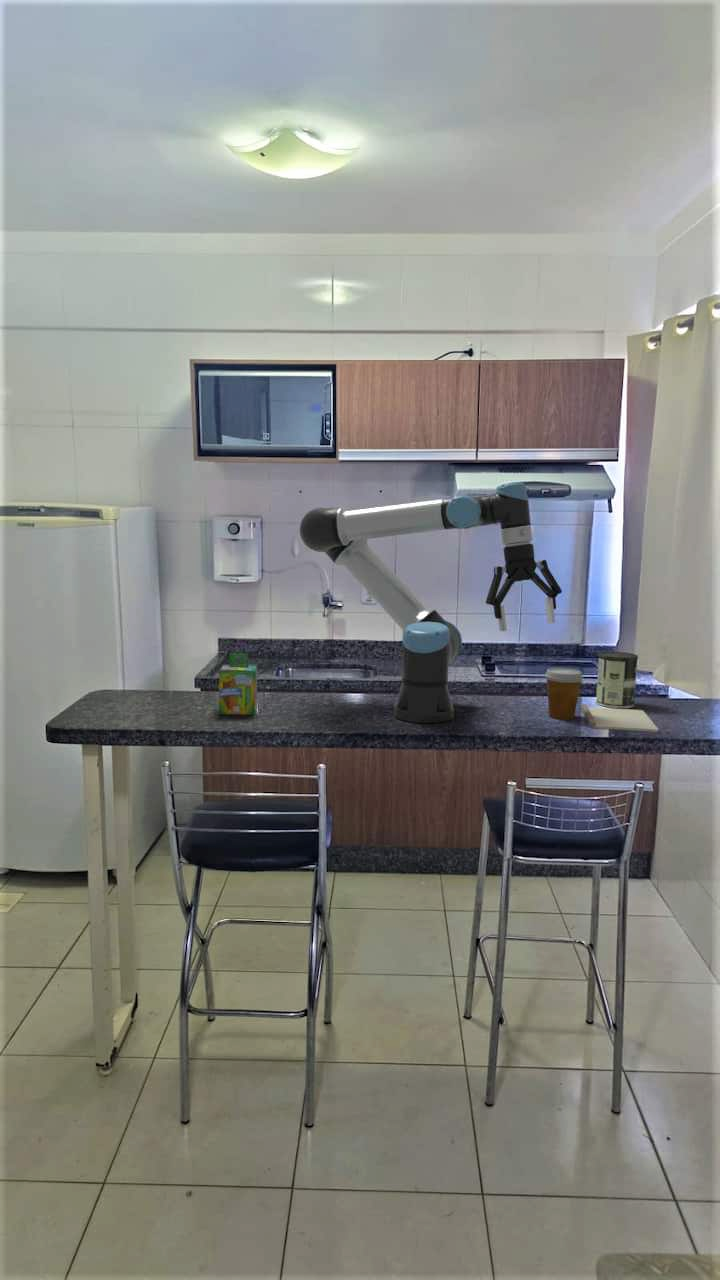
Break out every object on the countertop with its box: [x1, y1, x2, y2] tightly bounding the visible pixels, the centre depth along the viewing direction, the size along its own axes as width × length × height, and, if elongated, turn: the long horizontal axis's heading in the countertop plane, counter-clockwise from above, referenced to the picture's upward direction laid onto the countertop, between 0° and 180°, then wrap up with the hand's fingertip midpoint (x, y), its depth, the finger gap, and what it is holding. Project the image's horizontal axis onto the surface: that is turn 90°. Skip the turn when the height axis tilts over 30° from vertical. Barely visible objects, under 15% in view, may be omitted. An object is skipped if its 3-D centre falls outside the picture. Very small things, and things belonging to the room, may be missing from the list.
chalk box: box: [218, 653, 258, 716], centre depth 203 cm, size 9×9×15 cm
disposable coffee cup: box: [544, 667, 584, 721], centre depth 205 cm, size 10×10×12 cm
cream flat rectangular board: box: [580, 703, 660, 733], centre depth 204 cm, size 16×20×2 cm
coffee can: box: [595, 651, 639, 709], centre depth 220 cm, size 10×10×14 cm
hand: (527, 626), depth 205 cm, fingers open, 13 cm apart
